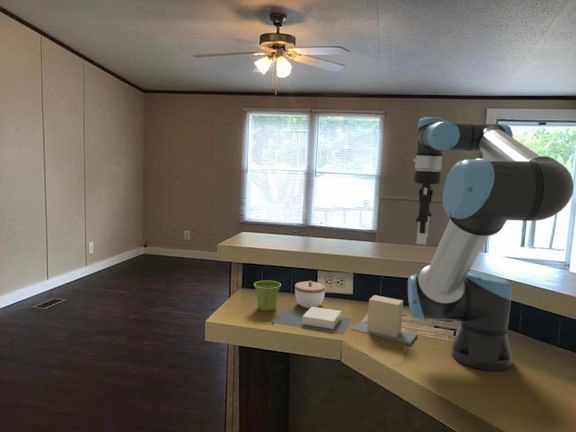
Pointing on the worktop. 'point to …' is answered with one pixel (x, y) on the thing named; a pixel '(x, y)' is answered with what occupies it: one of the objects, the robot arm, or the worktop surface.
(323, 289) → the lidded jar
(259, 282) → the plant pot
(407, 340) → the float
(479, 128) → the robot arm
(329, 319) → the tile
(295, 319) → the mat
